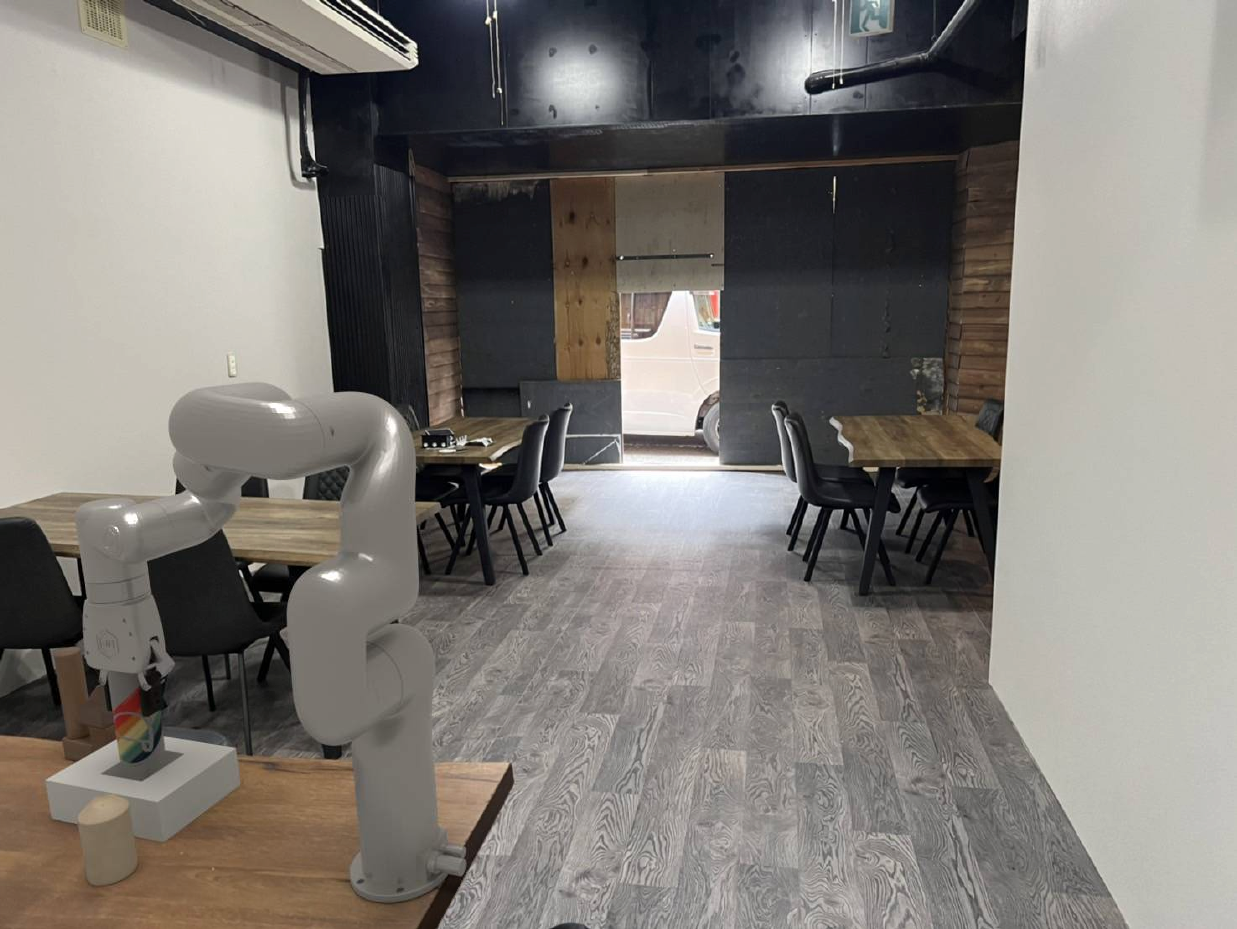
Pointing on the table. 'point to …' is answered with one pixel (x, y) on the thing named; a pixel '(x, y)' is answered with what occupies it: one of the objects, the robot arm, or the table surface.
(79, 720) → the brown block with handle
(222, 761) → the bottle caddy
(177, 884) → the table surface
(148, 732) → the lotion bottle
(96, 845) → the candle
